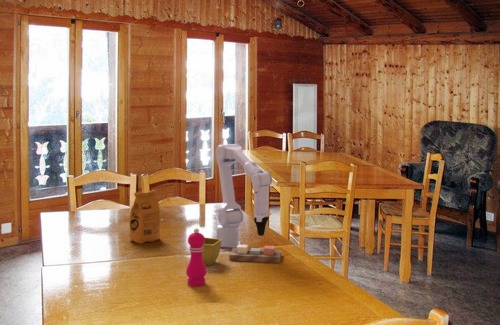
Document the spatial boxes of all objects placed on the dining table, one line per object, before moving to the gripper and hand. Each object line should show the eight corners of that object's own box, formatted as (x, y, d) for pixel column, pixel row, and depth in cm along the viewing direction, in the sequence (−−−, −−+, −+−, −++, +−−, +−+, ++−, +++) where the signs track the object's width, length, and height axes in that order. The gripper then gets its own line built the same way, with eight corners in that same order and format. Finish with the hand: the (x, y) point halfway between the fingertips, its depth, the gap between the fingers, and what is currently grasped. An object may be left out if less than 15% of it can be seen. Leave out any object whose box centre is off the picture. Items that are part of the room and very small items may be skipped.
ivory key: (236, 254, 244) (236, 247, 243) (238, 251, 248) (238, 244, 247) (246, 254, 243) (246, 247, 243) (247, 251, 247) (247, 244, 247)
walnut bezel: (229, 260, 241) (229, 254, 241) (233, 252, 251) (233, 247, 251) (279, 262, 239) (279, 257, 238) (281, 255, 249) (281, 250, 248)
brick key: (263, 255, 242) (263, 248, 242) (264, 252, 246) (265, 245, 246) (273, 256, 242) (273, 248, 241) (274, 253, 246) (274, 246, 245)
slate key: (250, 257, 243) (250, 250, 243) (251, 254, 247) (251, 247, 247) (260, 258, 243) (260, 251, 242) (261, 255, 247) (261, 248, 246)
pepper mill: (186, 280, 217) (186, 226, 214) (206, 280, 218) (206, 225, 215) (185, 287, 210) (185, 231, 207) (206, 286, 210) (206, 231, 208)
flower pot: (221, 261, 240) (221, 239, 239) (213, 267, 232) (213, 244, 231) (201, 258, 243) (201, 236, 242) (192, 264, 235) (192, 242, 233)
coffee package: (126, 240, 269) (125, 191, 266) (150, 235, 277) (149, 188, 274) (139, 244, 261) (138, 194, 258) (162, 239, 270) (162, 191, 267)
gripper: (269, 206, 234) (269, 240, 236) (273, 199, 248) (272, 231, 250) (251, 205, 235) (251, 239, 237) (256, 198, 249) (255, 230, 251)
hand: (261, 235), depth 243 cm, fingers closed
